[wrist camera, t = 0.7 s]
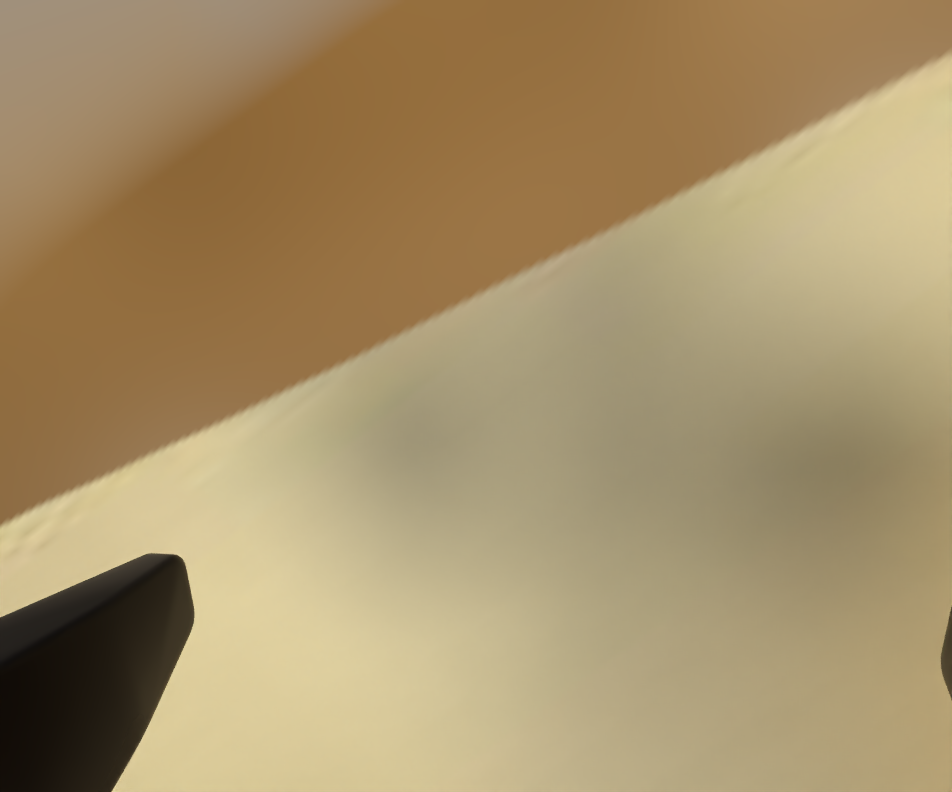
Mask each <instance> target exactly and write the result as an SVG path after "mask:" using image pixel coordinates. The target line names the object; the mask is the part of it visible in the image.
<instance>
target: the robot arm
mask: <svg viewBox="0 0 952 792" xmlns="http://www.w3.org/2000/svg"><path fill="white" fill-rule="evenodd" d="M193 623H194V606H193V600H192V595H191V590H190V585H189V580H188V575H187V570H186V566H185V563H184V561H183V559H182V558H181V557H179V556H178V555H173V554H153V553H151V554H146V555H143V556H141V557H139V558H136V559H134V560H132V561H129V562H127V563H125V564H122V565H120V566H118V567H116V568H113V569H111V570H109V571H106V572H104V573H102V574H99V575H97V576H95V577H93V578H90V579H88V580H86V581H83V582H81V583H79V584H76V585H74V586H72V587H70V588H67V589H65V590H63V591H60V592H58V593H56V594H53V595H51V596H49V597H47V598H44V599H42V600H40V601H37V602H35V603H33V604H30V605H28V606H26V607H24V608H21V609H19V610H17V611H14V612H12V613H10V614H7V615H5V616H3V617H1V618H0V792H112V790H113V788H114V787H115V785H116V783H117V781H118V780H119V778H120V776H121V775H122V773H123V771H124V769H125V768H126V766H127V764H128V762H129V761H130V759H131V757H132V755H133V754H134V752H135V750H136V748H137V746H138V744H139V743H140V741H141V739H142V737H143V735H144V733H145V731H146V729H147V727H148V725H149V723H150V721H151V719H152V716H153V714H154V712H155V710H156V708H157V705H158V703H159V701H160V699H161V697H162V694H163V692H164V690H165V688H166V685H167V683H168V681H169V679H170V677H171V674H172V672H173V670H174V668H175V666H176V663H177V661H178V659H179V657H180V655H181V652H182V650H183V648H184V646H185V644H186V641H187V639H188V637H189V635H190V633H191V630H192V627H193ZM941 669H942V674H943V677H944V681H945V683H946V686H947V689H948V691H949V694H950V697H951V699H952V607H951V611H950V616H949V620H948V625H947V630H946V634H945V639H944V643H943V648H942V653H941Z"/></svg>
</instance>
